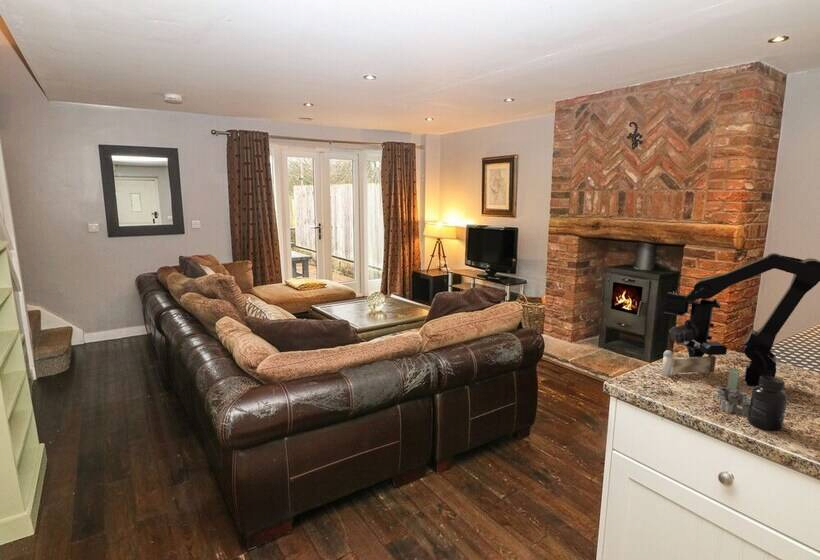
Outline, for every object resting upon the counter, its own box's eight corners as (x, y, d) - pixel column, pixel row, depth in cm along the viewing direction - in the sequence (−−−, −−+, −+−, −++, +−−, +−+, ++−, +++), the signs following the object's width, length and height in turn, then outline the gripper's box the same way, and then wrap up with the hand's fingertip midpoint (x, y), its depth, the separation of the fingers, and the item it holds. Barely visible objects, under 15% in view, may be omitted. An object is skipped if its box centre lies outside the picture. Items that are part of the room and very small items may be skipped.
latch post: (735, 386, 136) (738, 369, 135) (736, 390, 133) (738, 373, 132) (727, 384, 137) (730, 368, 136) (727, 388, 134) (730, 371, 133)
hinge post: (670, 374, 144) (673, 350, 143) (670, 376, 142) (673, 352, 140) (661, 372, 145) (664, 348, 144) (660, 375, 143) (663, 350, 142)
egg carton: (753, 418, 117) (756, 403, 116) (718, 411, 120) (720, 396, 120) (747, 402, 126) (750, 388, 125) (715, 396, 129) (717, 382, 129)
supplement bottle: (788, 433, 109) (797, 386, 107) (755, 430, 110) (763, 383, 108) (772, 420, 116) (780, 375, 113) (741, 417, 117) (748, 372, 115)
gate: (673, 373, 143) (675, 358, 142) (669, 371, 145) (671, 356, 144) (713, 372, 145) (716, 356, 144) (709, 369, 146) (711, 354, 145)
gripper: (657, 310, 152) (651, 354, 156) (696, 329, 134) (688, 378, 138) (689, 309, 153) (683, 353, 157) (732, 328, 135) (723, 377, 138)
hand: (693, 365), depth 147 cm, fingers closed
